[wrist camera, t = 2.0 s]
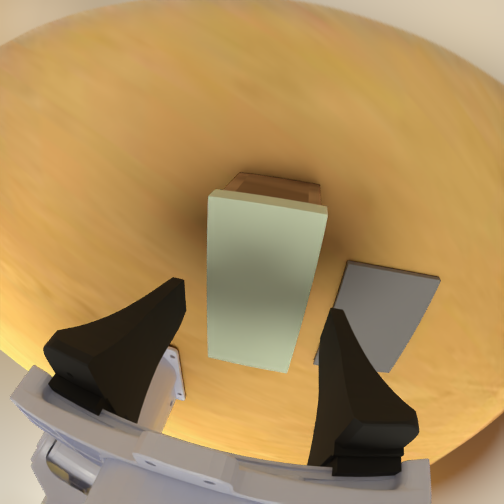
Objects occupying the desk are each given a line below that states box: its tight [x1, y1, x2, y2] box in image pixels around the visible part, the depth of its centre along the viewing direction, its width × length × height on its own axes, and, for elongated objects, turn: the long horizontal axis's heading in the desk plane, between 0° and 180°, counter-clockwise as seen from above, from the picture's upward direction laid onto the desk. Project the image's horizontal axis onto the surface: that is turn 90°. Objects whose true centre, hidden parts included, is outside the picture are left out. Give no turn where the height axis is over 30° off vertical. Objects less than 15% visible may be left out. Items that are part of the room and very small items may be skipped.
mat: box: [313, 261, 441, 373], centre depth 20 cm, size 10×7×1 cm
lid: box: [207, 189, 328, 373], centre depth 15 cm, size 10×5×2 cm, turn 175°
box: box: [223, 172, 321, 205], centre depth 17 cm, size 10×5×4 cm, turn 175°
